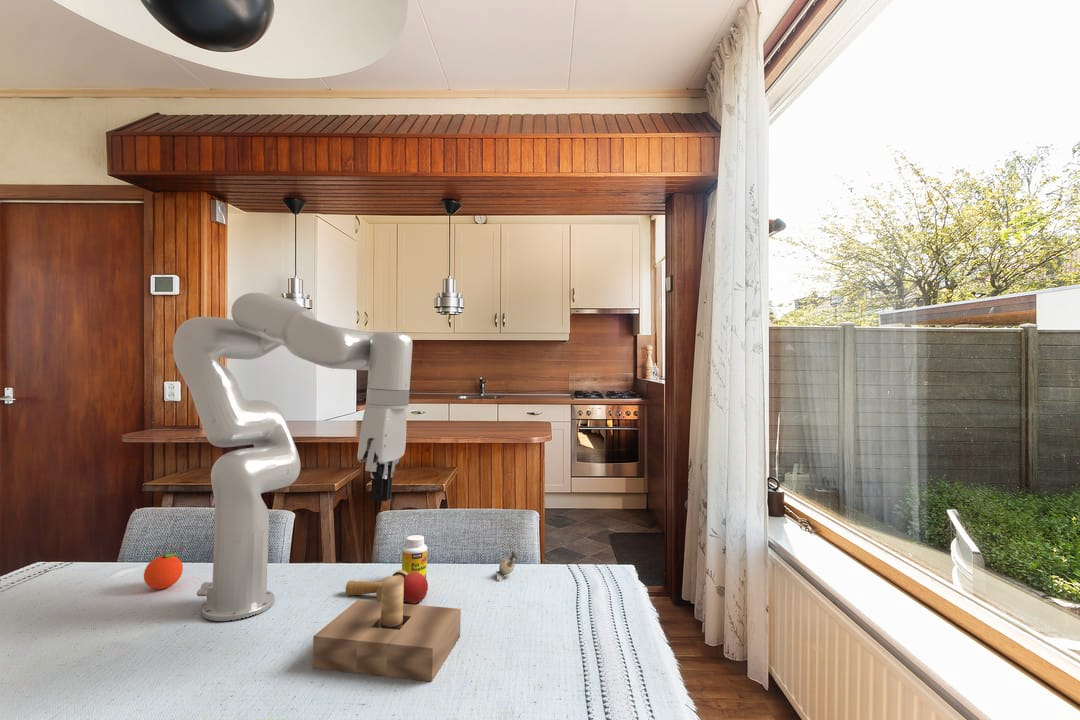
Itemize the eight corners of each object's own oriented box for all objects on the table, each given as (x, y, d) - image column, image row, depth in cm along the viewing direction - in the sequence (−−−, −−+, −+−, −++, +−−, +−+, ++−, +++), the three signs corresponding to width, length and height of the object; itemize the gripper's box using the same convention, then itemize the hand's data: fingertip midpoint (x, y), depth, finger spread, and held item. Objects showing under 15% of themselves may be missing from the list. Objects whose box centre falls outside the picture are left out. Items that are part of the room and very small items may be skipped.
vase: (518, 572, 124) (519, 548, 124) (520, 583, 119) (521, 557, 119) (495, 572, 124) (496, 548, 123) (496, 583, 118) (498, 557, 118)
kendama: (337, 610, 105) (418, 607, 102) (338, 577, 107) (417, 573, 103) (358, 602, 113) (434, 599, 109) (358, 571, 114) (433, 567, 111)
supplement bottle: (409, 589, 113) (410, 542, 113) (396, 582, 117) (398, 537, 117) (431, 583, 117) (432, 537, 117) (418, 576, 121) (419, 532, 121)
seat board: (312, 668, 82) (313, 636, 82) (356, 626, 95) (357, 599, 96) (431, 681, 78) (432, 648, 79) (460, 637, 92) (460, 608, 93)
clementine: (172, 578, 117) (174, 546, 117) (194, 582, 115) (195, 550, 115) (134, 591, 109) (136, 557, 110) (157, 596, 107) (159, 562, 107)
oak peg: (375, 656, 85) (377, 583, 86) (385, 644, 89) (387, 574, 90) (396, 658, 85) (398, 585, 85) (405, 647, 89) (408, 576, 89)
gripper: (387, 396, 102) (381, 489, 102) (346, 399, 87) (339, 507, 87) (423, 399, 101) (416, 492, 100) (387, 402, 86) (380, 512, 86)
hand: (380, 499), depth 94 cm, fingers closed
